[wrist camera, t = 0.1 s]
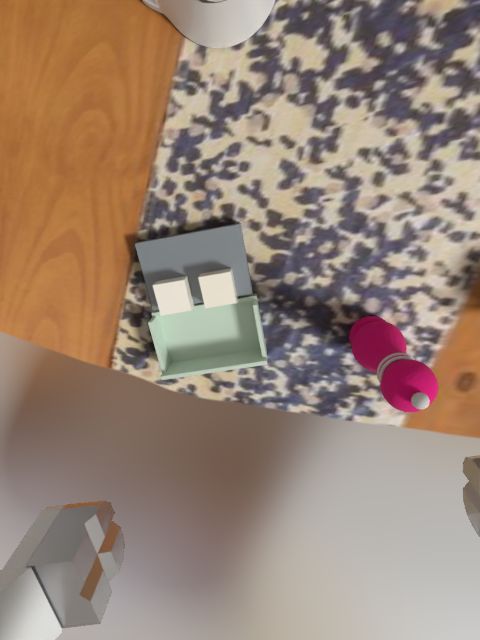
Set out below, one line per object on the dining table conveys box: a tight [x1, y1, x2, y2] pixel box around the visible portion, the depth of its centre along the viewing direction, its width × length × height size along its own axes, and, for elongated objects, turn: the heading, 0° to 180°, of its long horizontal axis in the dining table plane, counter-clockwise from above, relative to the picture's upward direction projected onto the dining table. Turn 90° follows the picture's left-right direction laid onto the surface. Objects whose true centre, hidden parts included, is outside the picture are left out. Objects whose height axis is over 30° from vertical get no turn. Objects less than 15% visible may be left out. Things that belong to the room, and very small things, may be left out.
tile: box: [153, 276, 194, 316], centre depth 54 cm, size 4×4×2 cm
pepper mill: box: [349, 316, 438, 412], centre depth 49 cm, size 7×7×20 cm
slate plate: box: [135, 223, 253, 311], centre depth 55 cm, size 10×15×2 cm, turn 100°
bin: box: [148, 293, 267, 380], centre depth 56 cm, size 10×16×5 cm, turn 100°
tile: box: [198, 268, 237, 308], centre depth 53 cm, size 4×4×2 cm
